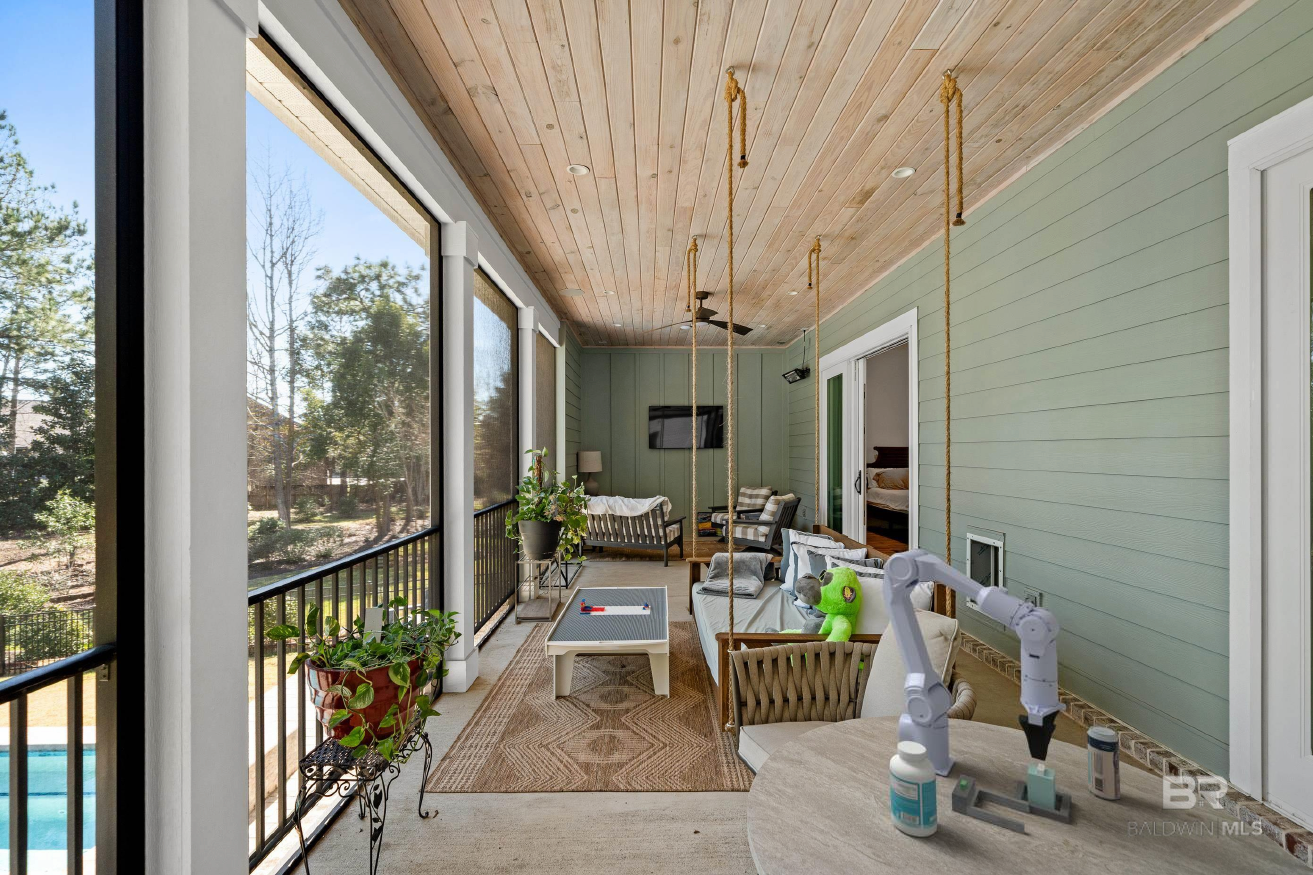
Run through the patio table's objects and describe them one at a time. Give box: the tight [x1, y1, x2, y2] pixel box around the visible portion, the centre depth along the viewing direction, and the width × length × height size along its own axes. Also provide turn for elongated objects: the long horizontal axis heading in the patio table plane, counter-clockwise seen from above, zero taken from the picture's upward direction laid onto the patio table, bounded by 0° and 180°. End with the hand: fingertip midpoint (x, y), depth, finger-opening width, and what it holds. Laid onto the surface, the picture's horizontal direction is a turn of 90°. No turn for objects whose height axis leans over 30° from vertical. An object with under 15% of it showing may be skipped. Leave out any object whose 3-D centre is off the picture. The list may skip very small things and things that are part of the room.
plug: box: [1026, 763, 1057, 810], centre depth 109 cm, size 4×4×7 cm
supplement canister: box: [1086, 725, 1121, 801], centre depth 113 cm, size 5×5×12 cm
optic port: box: [951, 773, 1031, 835], centre depth 107 cm, size 11×8×4 cm
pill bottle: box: [889, 741, 938, 838], centre depth 103 cm, size 8×7×14 cm
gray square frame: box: [1012, 779, 1072, 825], centre depth 109 cm, size 8×8×1 cm
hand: (1040, 750), depth 109 cm, fingers open, 7 cm apart
